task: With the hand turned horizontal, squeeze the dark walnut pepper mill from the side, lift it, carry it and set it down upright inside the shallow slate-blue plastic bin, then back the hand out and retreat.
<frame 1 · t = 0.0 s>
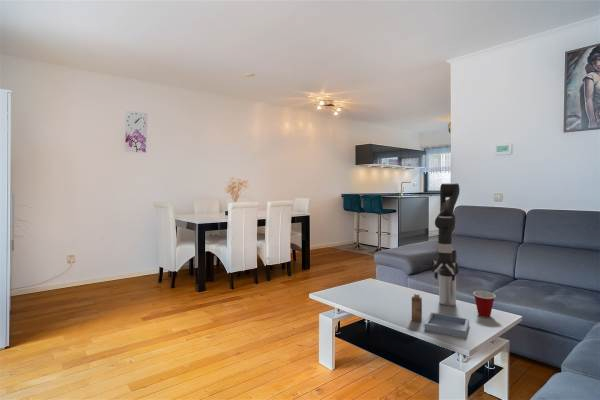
hand: (444, 279, 191), 17 cm above the table, tool pointing down, fingers open, 8 cm apart
plastic cup: (484, 316, 182), on the table
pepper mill: (416, 320, 176), on the table
bin: (447, 327, 166), on the table
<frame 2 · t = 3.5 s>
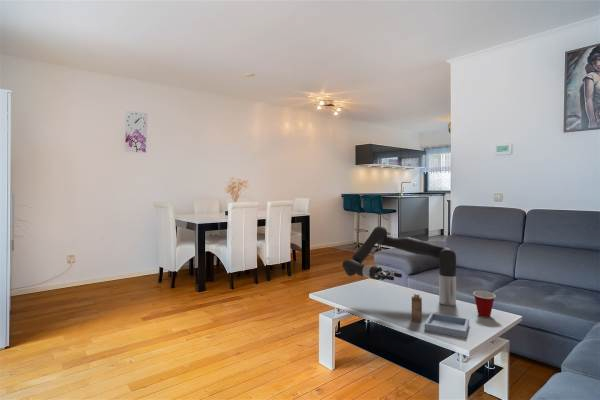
hand: (397, 277, 183), 21 cm above the table, tool horizontal, fingers open, 8 cm apart
nothing on the table moved.
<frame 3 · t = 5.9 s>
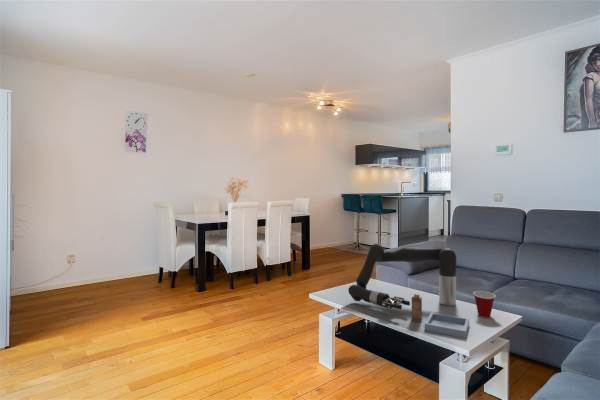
hand: (405, 305, 180), 7 cm above the table, tool horizontal, fingers open, 8 cm apart
nothing on the table moved.
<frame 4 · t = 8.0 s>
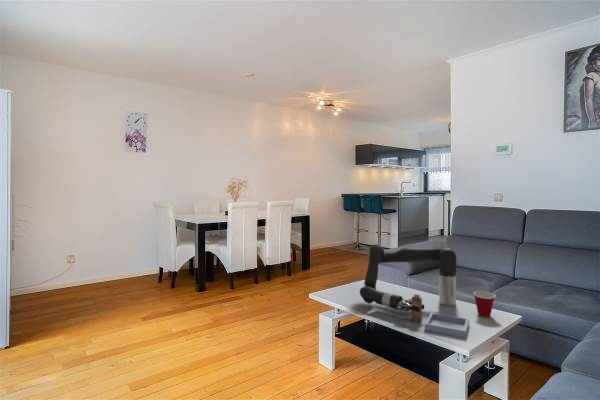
hand: (421, 308, 174), 7 cm above the table, tool horizontal, fingers closed on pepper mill, 5 cm apart
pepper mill: (416, 320, 176), on the table, touching gripper
everything else where it was.
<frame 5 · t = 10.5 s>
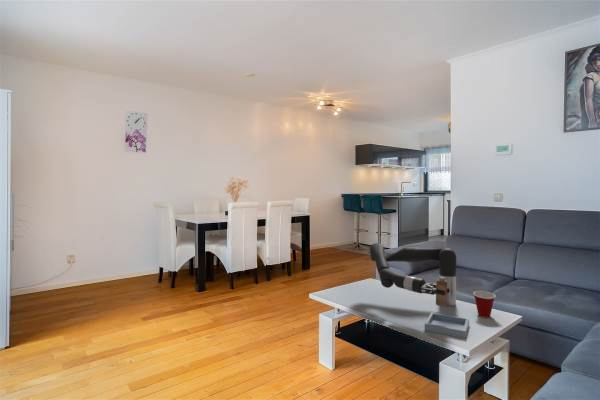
hand: (446, 292, 166), 18 cm above the table, tool horizontal, fingers closed on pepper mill, 5 cm apart
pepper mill: (441, 304, 168), point 11 cm above the table, touching gripper
everything else where it was.
when the fingers open (8 cm above the table, at t = 13.3 s): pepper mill stays where it is, resting on bin.
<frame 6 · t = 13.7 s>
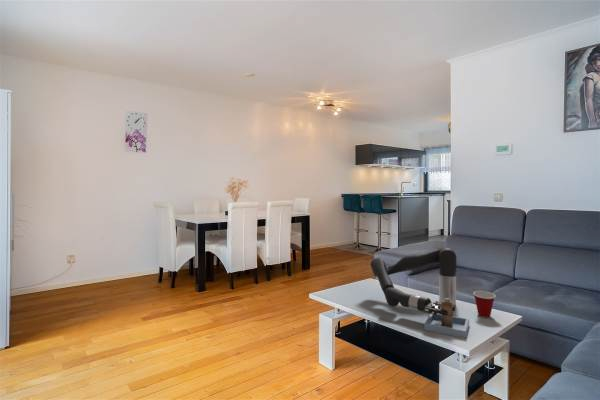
hand: (451, 311, 165), 9 cm above the table, tool horizontal, fingers open, 8 cm apart
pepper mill: (447, 326, 166), point 1 cm above the table, touching bin
everything else where it was.
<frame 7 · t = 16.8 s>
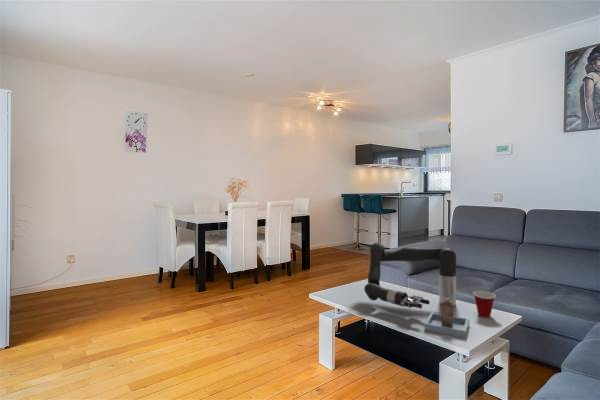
hand: (425, 304, 174), 9 cm above the table, tool horizontal, fingers open, 8 cm apart
nothing on the table moved.
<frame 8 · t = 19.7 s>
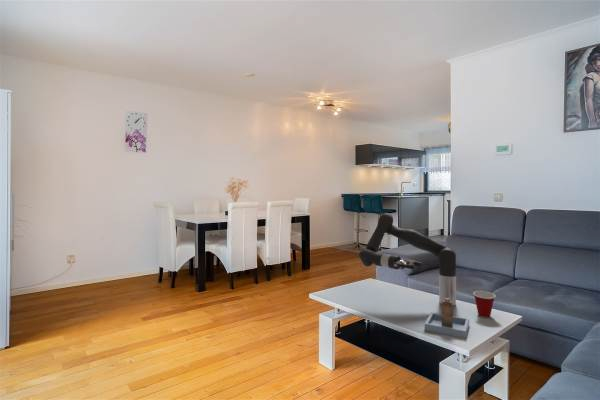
hand: (417, 265, 178), 28 cm above the table, tool horizontal, fingers open, 8 cm apart
nothing on the table moved.
at the end: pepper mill inside the target area on the bin (0.1 cm from its centre), point 0.6 cm above the bin's base; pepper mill tilted 0°; the gripper is holding nothing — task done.
